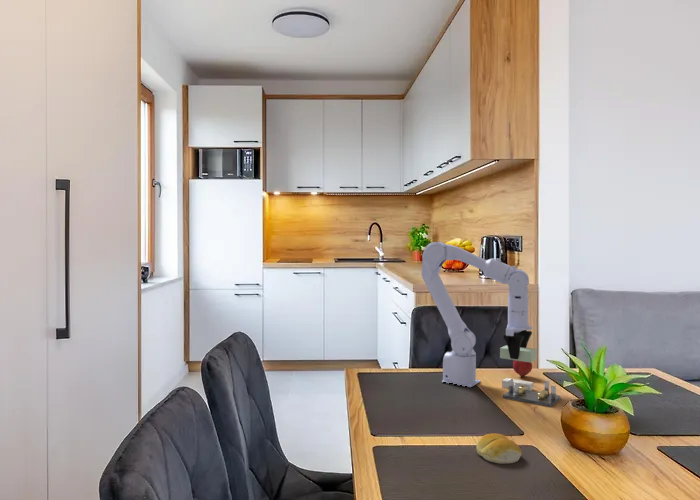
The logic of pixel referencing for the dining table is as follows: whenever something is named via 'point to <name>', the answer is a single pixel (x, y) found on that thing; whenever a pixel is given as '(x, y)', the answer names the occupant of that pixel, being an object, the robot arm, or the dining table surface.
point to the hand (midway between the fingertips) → (517, 356)
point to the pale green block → (524, 354)
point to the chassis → (532, 394)
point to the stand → (521, 383)
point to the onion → (522, 367)
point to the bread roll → (498, 449)
